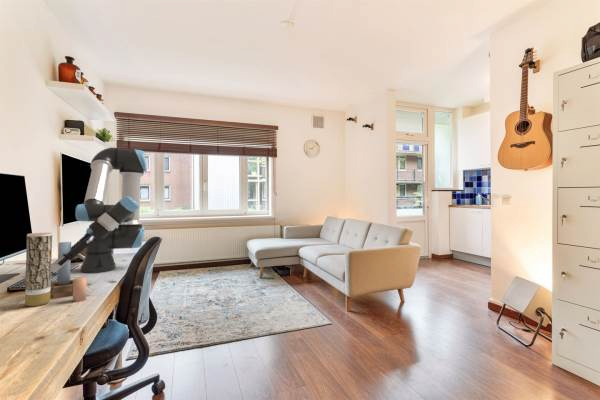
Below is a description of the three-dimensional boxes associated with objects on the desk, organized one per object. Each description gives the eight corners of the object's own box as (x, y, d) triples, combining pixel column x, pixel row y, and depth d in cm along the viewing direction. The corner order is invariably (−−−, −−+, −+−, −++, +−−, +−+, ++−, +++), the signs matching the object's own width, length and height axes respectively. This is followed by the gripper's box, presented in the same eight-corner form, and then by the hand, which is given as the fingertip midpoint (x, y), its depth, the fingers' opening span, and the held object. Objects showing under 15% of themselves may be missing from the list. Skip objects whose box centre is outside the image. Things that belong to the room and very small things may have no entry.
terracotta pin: (80, 297, 113) (80, 276, 113) (88, 298, 112) (89, 277, 112) (70, 301, 109) (70, 279, 109) (78, 302, 108) (79, 280, 108)
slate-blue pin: (64, 281, 119) (65, 241, 119) (72, 282, 119) (73, 242, 119) (54, 284, 116) (55, 243, 116) (62, 284, 115) (63, 243, 115)
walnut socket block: (79, 288, 124) (79, 278, 124) (79, 294, 116) (79, 284, 116) (47, 292, 118) (48, 282, 118) (45, 299, 110) (46, 288, 110)
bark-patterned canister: (35, 308, 102) (37, 235, 102) (19, 305, 103) (21, 234, 103) (55, 301, 109) (57, 233, 108) (40, 299, 110) (42, 232, 110)
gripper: (113, 234, 120) (59, 280, 110) (109, 230, 133) (60, 271, 123) (97, 221, 116) (40, 268, 106) (95, 218, 130) (44, 259, 120)
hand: (51, 269), depth 115 cm, fingers closed on slate-blue pin, 4 cm apart
